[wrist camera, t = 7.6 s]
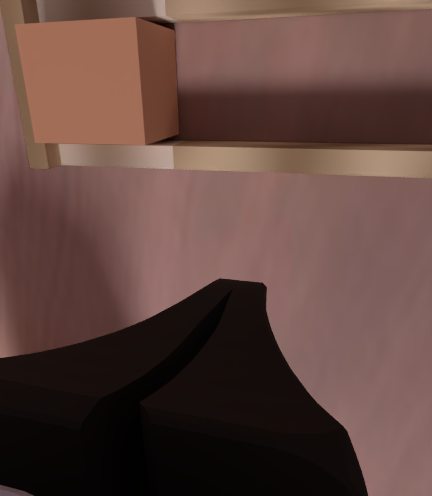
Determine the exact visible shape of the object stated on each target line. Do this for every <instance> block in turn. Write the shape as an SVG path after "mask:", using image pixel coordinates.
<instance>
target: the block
mask: <svg viewBox="0 0 432 496" xmlns="http://www.w3.org/2000/svg"><path fill="white" fill-rule="evenodd" d="M15 30H16V36H17V42H18V47H19V53H20V59H21V65H22V70H23V76H24V82H25V88H26V93H27V99H28V105H29V111H30V116H31V122H32V128H33V133H34V139H35V143H66V144H114V145H147V144H150V143H153V142H156V141H160V140H163V139H166V138H169V137H172V136H175V135H178V134H179V116H178V94H177V73H176V51H175V31H174V30H171V29H169V28H166V27H163V26H160V25H157V24H154V23H151V22H149V21H146V20H143V19H140V18H137V17H127V18H110V19H94V20H77V21H61V22H45V23H28V24H15Z"/></svg>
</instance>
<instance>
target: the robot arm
mask: <svg viewBox="0 0 432 496" xmlns="http://www.w3.org/2000/svg"><path fill="white" fill-rule="evenodd" d="M266 294H267V287H266V286H265V285H264V284H263V283H259V282H249V281H239V280H230V279H218V280H216V281H214V282H212V283H210V284H209V285H207V286H205V287H204V288H202V289H201V290H199V291H197V292H196V293H194V294H192V295H191V296H189V297H187V298H186V299H184V300H182V301H181V302H179V303H177V304H175V305H173V306H171V307H170V308H168V309H166V310H164V311H162V312H160V313H158V314H156V315H154V316H152V317H150V318H148V319H146V320H144V321H142V322H139V323H137V324H135V325H132V326H130V327H127V328H125V329H122V330H119V331H117V332H114V333H111V334H107V335H104V336H101V337H98V338H95V339H91V340H88V341H85V342H82V343H78V344H74V345H70V346H66V347H62V348H57V349H52V350H47V351H43V352H37V353H32V354H26V355H19V356H12V357H5V358H0V496H368V493H367V489H366V485H365V481H364V478H363V474H362V471H361V468H360V465H359V462H358V459H357V456H356V453H355V451H354V448H353V445H352V443H351V440H350V437H349V435H348V432H347V430H346V429H345V428H344V427H343V426H342V425H341V424H340V423H339V422H338V421H337V420H336V419H334V418H333V417H332V416H331V415H330V414H329V413H328V412H327V411H326V410H324V409H323V408H322V407H321V406H320V405H319V404H318V403H317V402H316V401H315V400H314V399H313V397H312V396H311V395H310V394H309V393H308V392H307V390H306V389H305V388H304V386H303V385H302V384H301V382H300V381H299V379H298V378H297V377H296V375H295V374H294V373H293V371H292V370H291V368H290V366H289V365H288V363H287V361H286V360H285V358H284V356H283V354H282V352H281V350H280V349H279V346H278V344H277V342H276V340H275V337H274V335H273V332H272V329H271V326H270V323H269V320H268V316H267V312H266Z"/></svg>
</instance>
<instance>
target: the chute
mask: <svg viewBox="0 0 432 496" xmlns="http://www.w3.org/2000/svg"><path fill="white" fill-rule="evenodd" d="M0 7H1V13H2V18H3V24H4V29H5V35H6V40H7V45H8V51H9V56H10V62H11V67H12V73H13V78H14V84H15V89H16V95H17V100H18V106H19V111H20V117H21V122H22V127H23V133H24V138H25V144H26V149H27V155H28V160H29V166H30V168H37V169H50V168H54V167H57V166H60V165H74V166H103V167H131V168H160V169H189V170H217V171H246V172H274V173H303V174H331V175H360V176H388V177H417V178H432V145H424V144H366V143H307V142H249V141H191V140H160V141H156V142H153V143H150V144H147V145H114V144H66V143H35V139H34V133H33V128H32V122H31V116H30V111H29V105H28V99H27V93H26V88H25V82H24V76H23V70H22V65H21V59H20V53H19V47H18V42H17V36H16V30H15V24H28V23H45V22H61V21H77V20H94V19H110V18H127V17H137V18H140V19H143V20H146V21H149V22H151V23H154V24H166V23H184V22H202V21H220V20H237V19H255V18H273V17H291V16H309V15H327V14H345V13H363V12H381V11H399V10H417V9H432V0H0Z"/></svg>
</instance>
